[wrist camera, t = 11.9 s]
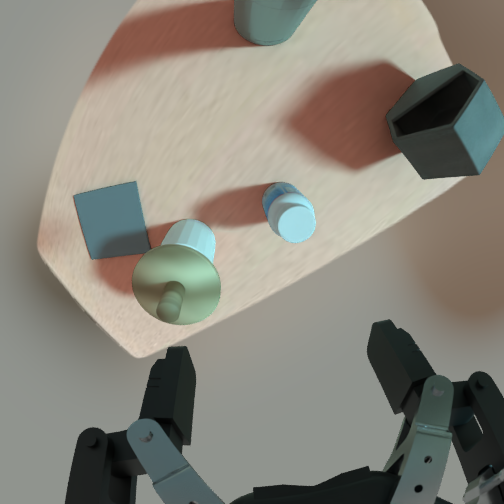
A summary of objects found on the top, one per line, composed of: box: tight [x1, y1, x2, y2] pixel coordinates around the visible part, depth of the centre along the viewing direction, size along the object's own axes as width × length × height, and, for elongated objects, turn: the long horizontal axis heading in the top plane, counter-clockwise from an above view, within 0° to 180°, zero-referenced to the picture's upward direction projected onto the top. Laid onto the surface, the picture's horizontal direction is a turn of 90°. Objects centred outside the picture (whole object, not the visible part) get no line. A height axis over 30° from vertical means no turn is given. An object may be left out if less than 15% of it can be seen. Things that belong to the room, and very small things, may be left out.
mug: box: [161, 219, 216, 264], centre depth 41 cm, size 8×12×10 cm
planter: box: [386, 64, 504, 179], centre depth 29 cm, size 17×8×21 cm
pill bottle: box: [262, 182, 316, 243], centre depth 37 cm, size 6×6×11 cm
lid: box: [132, 244, 221, 325], centre depth 34 cm, size 12×12×6 cm
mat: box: [74, 181, 151, 260], centre depth 42 cm, size 12×12×1 cm
